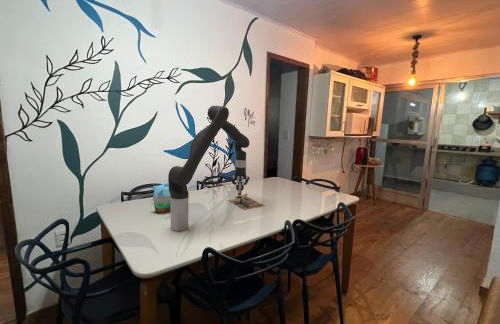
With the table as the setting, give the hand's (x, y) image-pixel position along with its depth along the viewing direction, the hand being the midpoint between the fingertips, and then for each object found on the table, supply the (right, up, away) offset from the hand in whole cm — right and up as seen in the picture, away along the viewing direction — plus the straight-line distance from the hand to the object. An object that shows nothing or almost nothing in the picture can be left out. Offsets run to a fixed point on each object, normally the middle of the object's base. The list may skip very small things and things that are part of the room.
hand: (239, 190), depth 172 cm
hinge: (+4, -9, +1) cm, 10 cm away
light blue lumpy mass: (-51, -8, +1) cm, 52 cm away
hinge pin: (0, -4, +1) cm, 4 cm away
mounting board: (+4, -11, +2) cm, 12 cm away
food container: (-47, -12, -20) cm, 53 cm away
